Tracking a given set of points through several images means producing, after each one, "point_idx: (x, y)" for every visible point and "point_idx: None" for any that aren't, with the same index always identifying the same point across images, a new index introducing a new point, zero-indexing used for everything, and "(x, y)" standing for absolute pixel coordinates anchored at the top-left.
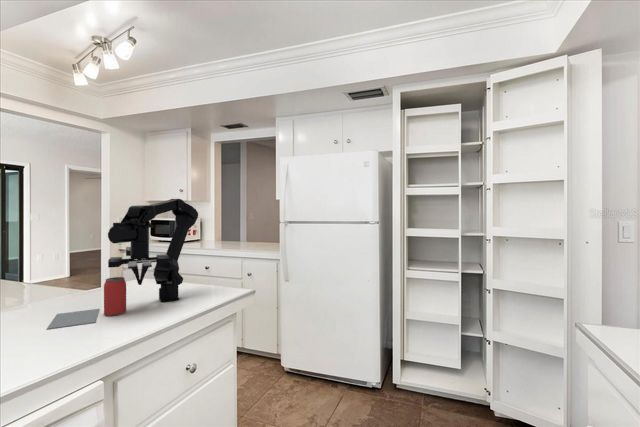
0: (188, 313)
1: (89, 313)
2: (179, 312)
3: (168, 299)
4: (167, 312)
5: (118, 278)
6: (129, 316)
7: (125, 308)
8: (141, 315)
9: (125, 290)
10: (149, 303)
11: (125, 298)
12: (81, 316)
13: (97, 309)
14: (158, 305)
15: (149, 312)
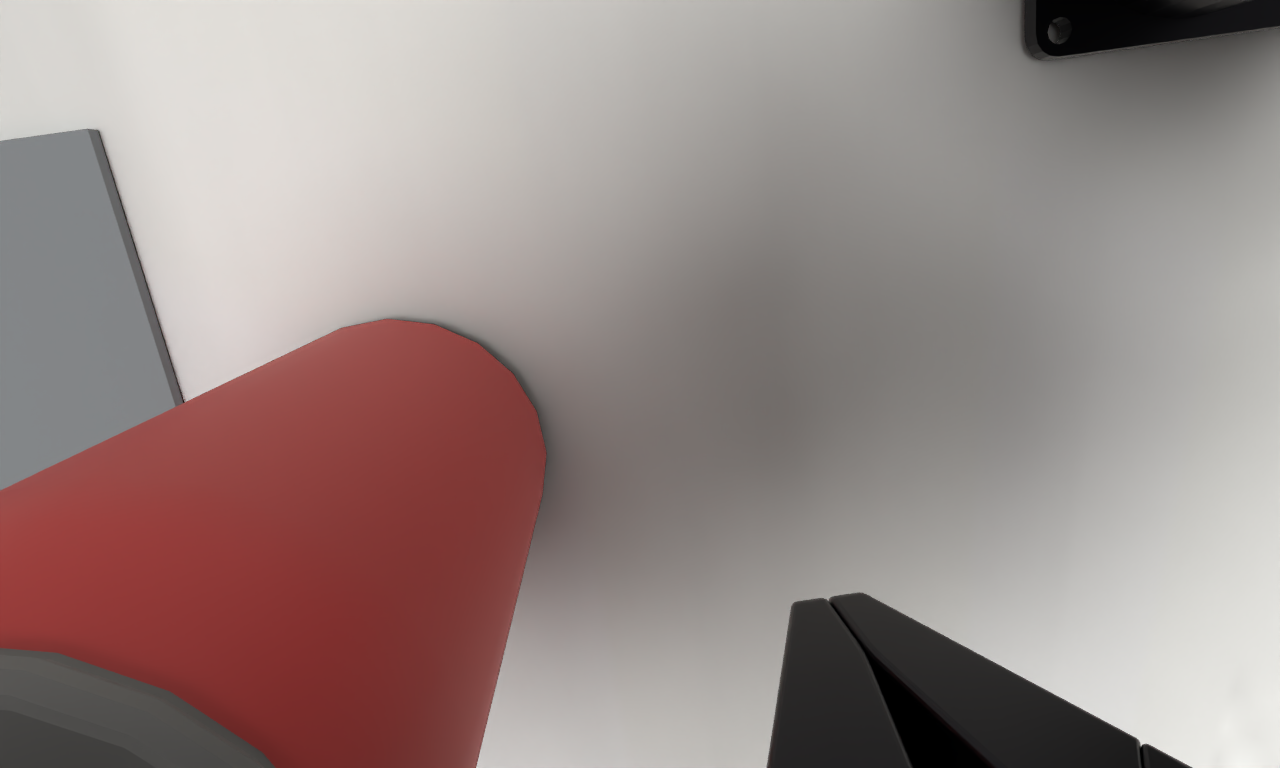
0: (1261, 747)
1: (49, 375)
2: (1179, 679)
3: (1166, 14)
4: (1050, 632)
5: (63, 752)
6: (621, 640)
7: (539, 503)
8: (756, 648)
9: (492, 685)
10: (836, 38)
11: (518, 582)
12: (4, 486)
13: (75, 178)
14: (968, 237)
15: (844, 558)
